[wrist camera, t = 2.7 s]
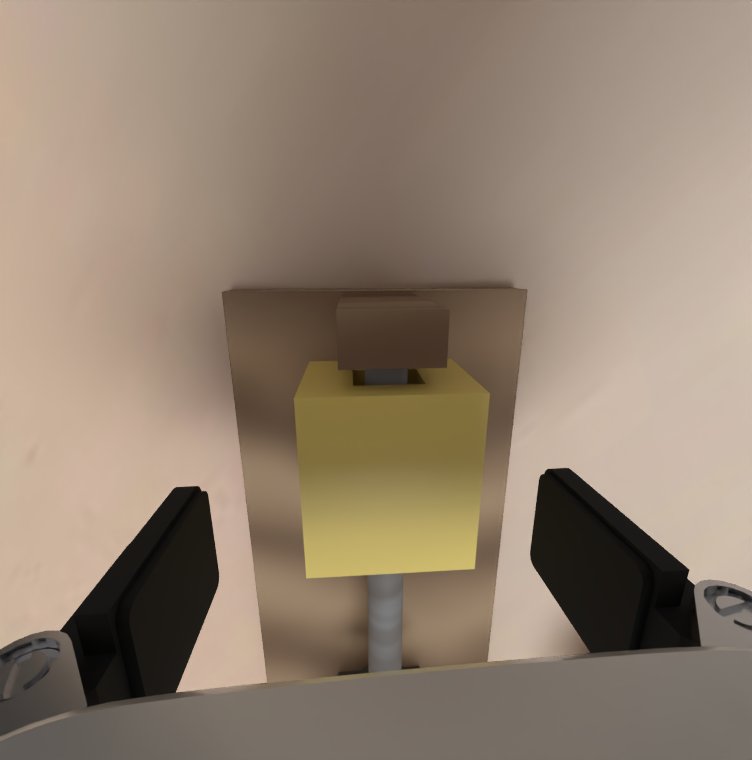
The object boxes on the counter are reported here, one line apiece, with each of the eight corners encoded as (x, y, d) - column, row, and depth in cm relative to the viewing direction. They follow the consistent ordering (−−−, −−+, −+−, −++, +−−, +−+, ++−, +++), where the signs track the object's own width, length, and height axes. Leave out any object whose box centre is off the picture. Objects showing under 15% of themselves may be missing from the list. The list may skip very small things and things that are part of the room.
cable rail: (231, 290, 16) (137, 307, 9) (514, 288, 16) (635, 302, 9) (276, 705, 22) (244, 900, 15) (475, 690, 23) (528, 869, 16)
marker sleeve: (309, 361, 14) (293, 398, 10) (451, 358, 15) (489, 393, 11) (317, 500, 16) (306, 578, 12) (443, 494, 16) (474, 568, 12)
